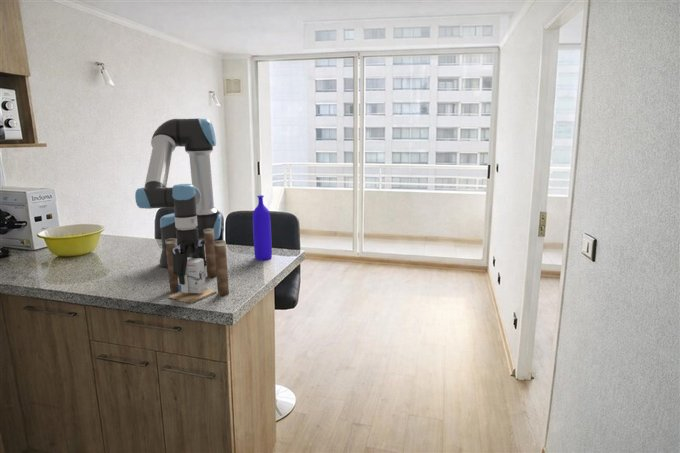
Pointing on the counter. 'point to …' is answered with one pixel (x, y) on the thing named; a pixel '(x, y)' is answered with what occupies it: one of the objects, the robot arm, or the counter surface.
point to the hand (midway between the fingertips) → (192, 289)
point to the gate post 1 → (171, 264)
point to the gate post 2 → (210, 252)
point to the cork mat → (191, 296)
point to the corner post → (221, 267)
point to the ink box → (194, 275)
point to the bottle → (262, 231)
